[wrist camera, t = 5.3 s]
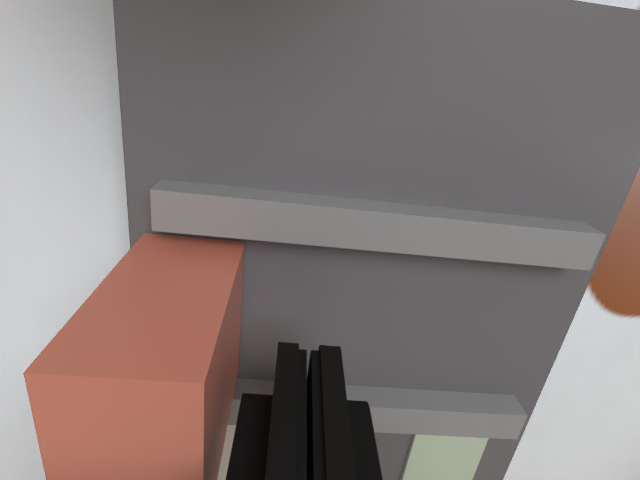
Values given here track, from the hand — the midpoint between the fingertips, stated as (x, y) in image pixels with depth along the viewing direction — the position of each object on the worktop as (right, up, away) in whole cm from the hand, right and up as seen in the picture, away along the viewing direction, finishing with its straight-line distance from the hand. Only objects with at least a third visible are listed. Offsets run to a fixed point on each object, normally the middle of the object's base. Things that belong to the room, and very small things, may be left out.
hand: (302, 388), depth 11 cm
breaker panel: (+2, +2, +6) cm, 7 cm away
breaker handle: (-4, +2, +3) cm, 5 cm away
